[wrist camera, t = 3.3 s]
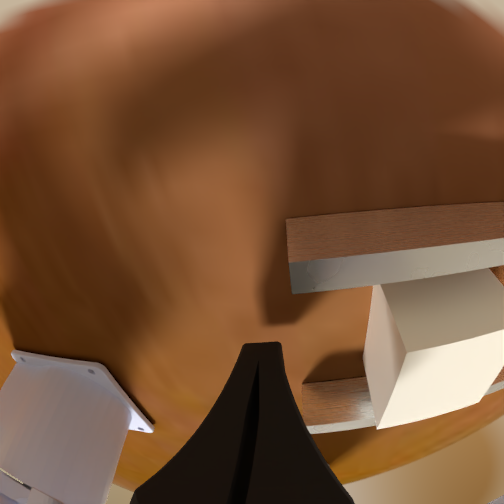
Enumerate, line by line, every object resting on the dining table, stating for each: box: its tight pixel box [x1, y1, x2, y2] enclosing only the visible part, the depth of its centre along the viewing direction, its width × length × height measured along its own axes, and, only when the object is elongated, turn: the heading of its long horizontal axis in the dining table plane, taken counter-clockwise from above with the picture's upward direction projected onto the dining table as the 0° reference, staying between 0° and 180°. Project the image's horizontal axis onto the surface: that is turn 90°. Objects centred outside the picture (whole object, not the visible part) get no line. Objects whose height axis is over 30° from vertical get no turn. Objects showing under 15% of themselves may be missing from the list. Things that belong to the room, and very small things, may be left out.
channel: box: [286, 202, 504, 434], centre depth 10 cm, size 12×10×2 cm
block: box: [363, 268, 504, 429], centre depth 10 cm, size 5×5×4 cm
